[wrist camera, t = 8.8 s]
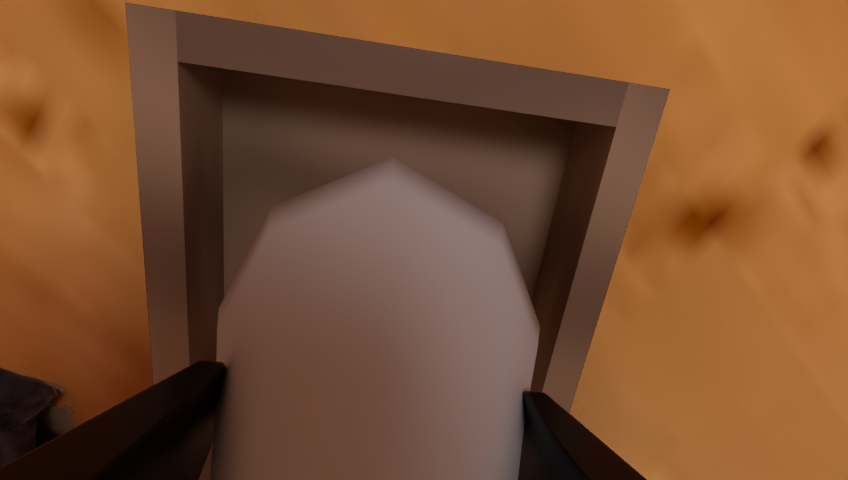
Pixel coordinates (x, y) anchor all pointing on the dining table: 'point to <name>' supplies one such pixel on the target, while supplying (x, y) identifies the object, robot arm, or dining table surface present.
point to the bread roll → (29, 415)
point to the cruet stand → (367, 145)
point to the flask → (375, 339)
